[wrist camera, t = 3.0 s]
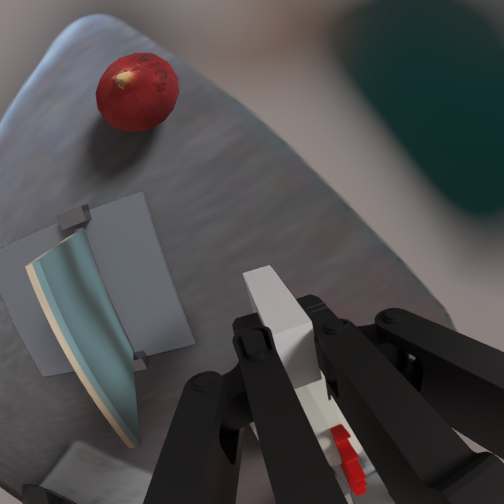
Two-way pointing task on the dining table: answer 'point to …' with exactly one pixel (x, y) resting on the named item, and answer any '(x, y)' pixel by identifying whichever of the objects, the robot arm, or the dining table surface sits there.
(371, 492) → the coffee maker
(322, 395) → the kitchen timer
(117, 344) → the flap
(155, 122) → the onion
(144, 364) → the hinge blocks
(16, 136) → the dining table surface
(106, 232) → the base plate
